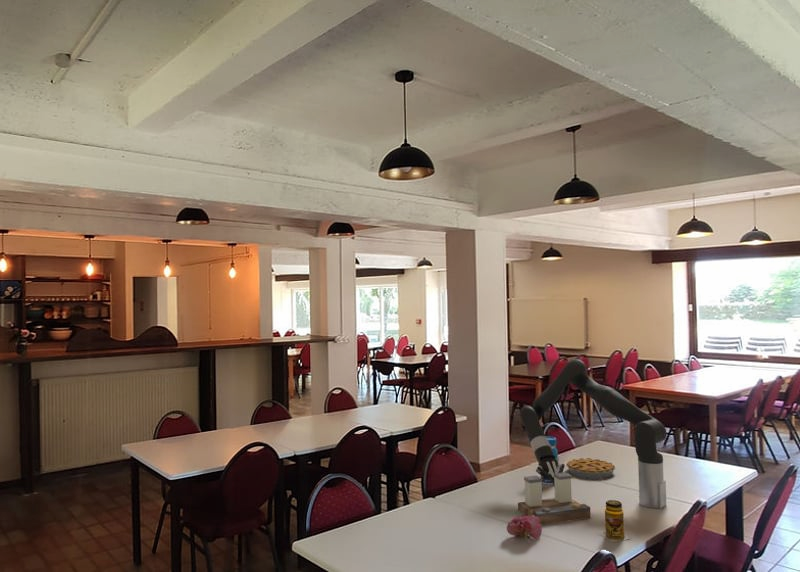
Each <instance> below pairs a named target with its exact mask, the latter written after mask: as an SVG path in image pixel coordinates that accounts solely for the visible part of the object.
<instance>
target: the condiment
mask: <svg viewBox="0 0 800 572" xmlns="http://www.w3.org/2000/svg"><path fill="white" fill-rule="evenodd" d="M624 519H625V518H624V511H623V505H622V502H621V501H619V500H615V499H610V500H607V501H605V509H604V521H605V523H604V524H605V525H604V528H605V531H600V532H597V533H598V534H599V535H601V536H602V537H603V538H605V539H607V540H608V541H610V542H612V543H615V542H620V541H626V540H629V539H631V538H630V537H628V536H626V535H625V522H624V521H625V520H624Z"/></svg>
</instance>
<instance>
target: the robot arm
mask: <svg viewBox="0 0 800 572" xmlns="http://www.w3.org/2000/svg"><path fill="white" fill-rule="evenodd" d="M569 384H570V385H572V386H574V387H575V388H577V389H578V390H580V391H581V392H582V393H584V394H585V395H586V396H588V397H589V398H590V399H592V400H593V401H594V402H595V403H597V404H598V405H599V406H600V407H601V408H602V409H604V410H605V411H607V413H609V414H610V415H612V416H614V417H616V418H619V419H622V420H624V421H627V422H629V423H631V424H632V425H634V433H633V435H634V436H633V437H634V447H635V453H636V456H637V462H638V463H637V465H638V467H637V468H638V469H637V471H638V498H639V499H638V501H639V504H640V505H641V506H643V507H647V508H649V509H663V508H664V507H665V506H667V483H666V482H667V481H666V480H665V479H664V478H665V477H664V457H663V454H662V453H660V452H658V450H657V444H658V443H661V442H663V441H665V440H666V439H667V434H668V433H667V429H666V426H664V424H663V423H662V422H661V421H659V420H658V419H657V418H655V417H653V416H652V415H650V414H648V413H647V412H645V411H643V410H642V409H641V408H639V407H638V406H636V405H635V404H634V403H633V402H631V401H630V400H628V399H627V398H626V397H624V396H623V395H622V394H621V393H620V392H618V391H617V390H615V389H614V388H612V387H611V386H607V385H603V384H600V383H598V382H597V381H595V380H594V379H593V378H592V377H590V375H588V370H587V365H586V364H585V362H584V361H582V360H581V359H576V358H575V359H572V360H569V361H568V362H567V363H566V364H565V365H564V367H563V368H562V369H561V371H560V372H559V373H558V375H557V376H555V378H554V380H552V382H551V383H550V384H549V385H548V386H547V387H546V388H545V390H543V392H541V393H540V394H539V395H538V396H537V397H536V398H535V399H534V400H533V403H532V406H530V405H525V406H522V407H521V408H520V410H519V419H520V423H521V424H522V426H523V427H524V428H525V431H526V435H527V438H528V440H529V443H530V446H531V448H532V451H533V454H534V456H535V459H536V461H537V463H538V466H537V467H536V470H535V472H536V473H538V474H539V475H540V477H541V476H543V477H544V478H545V479H546V480H548V479H549V480H551V481H552V483H553V485H552V486H553V487H554V488H555V482H554V474H555V473H557V466H558V473H564V469H565V464H564V463H559V462H558V461H557V460H556V459H555V455H554V453H553V450H552V448H551V446H550V444H549V442H548V440H547V438H546V437H547V436H546V434H545V431H544V430H543V427H542V426H541V423H540V420H541V419H542V418H543V417H544V415H545V413H546V412H547V411H548V410H550V409H551V408H552V407H553V406H554V405H555V404H556V402H558V400H559V398H560V397H561V395H562V393H563V391H564V390H565V388H566V387H567V386H568V385H569Z"/></svg>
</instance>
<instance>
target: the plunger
mask: <svg viewBox="0 0 800 572" xmlns="http://www.w3.org/2000/svg"><path fill="white" fill-rule="evenodd" d="M523 480H524V498H525V500H524V502H525V503H526V504H527V505H529V506H530V507H533V506H540V505H542V500H543V492H542V491H543V489H542V486H543V485H542V484H543V483H542V478H541V476H538V475H530V476H523Z"/></svg>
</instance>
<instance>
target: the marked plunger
mask: <svg viewBox="0 0 800 572" xmlns="http://www.w3.org/2000/svg"><path fill="white" fill-rule="evenodd" d="M572 476H573V474H571V473H568V472H566V471H565V472H564V471H563V473H555V474H554V482H555V487H554V498H555V500H556V501H558V502H560V503H564V502H572V500H573V498H572V495H573V494H572V479H573V477H572Z"/></svg>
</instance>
